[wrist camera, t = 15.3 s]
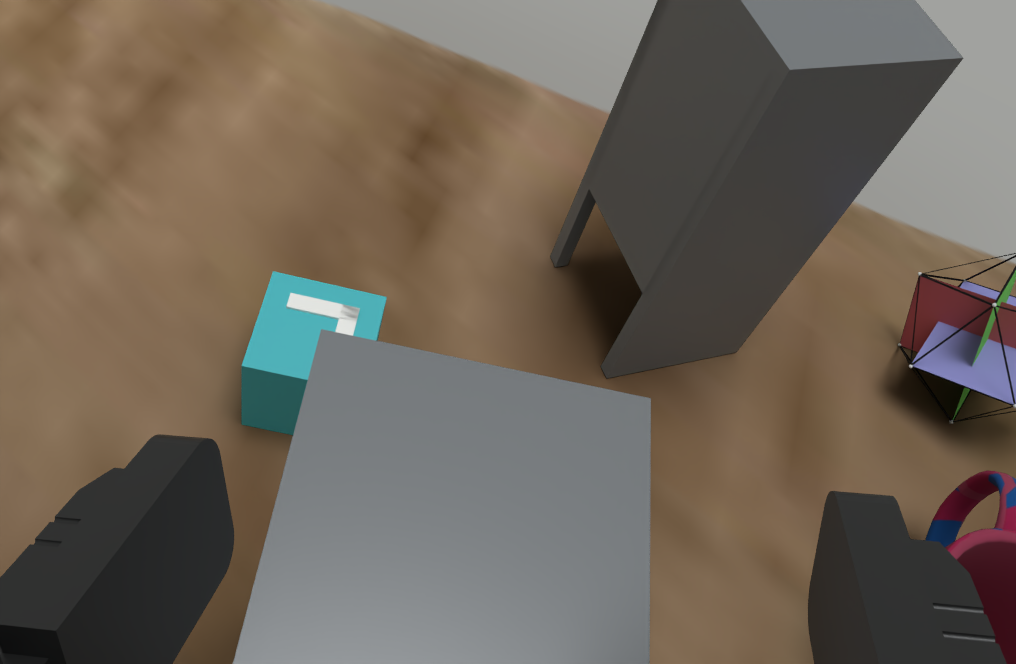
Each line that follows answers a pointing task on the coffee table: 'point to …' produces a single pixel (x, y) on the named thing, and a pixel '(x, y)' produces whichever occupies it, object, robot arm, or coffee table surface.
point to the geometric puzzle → (964, 336)
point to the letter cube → (297, 344)
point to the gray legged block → (454, 518)
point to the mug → (985, 550)
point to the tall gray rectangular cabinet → (745, 155)
